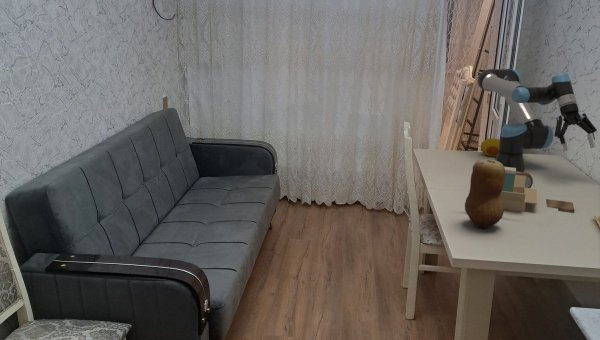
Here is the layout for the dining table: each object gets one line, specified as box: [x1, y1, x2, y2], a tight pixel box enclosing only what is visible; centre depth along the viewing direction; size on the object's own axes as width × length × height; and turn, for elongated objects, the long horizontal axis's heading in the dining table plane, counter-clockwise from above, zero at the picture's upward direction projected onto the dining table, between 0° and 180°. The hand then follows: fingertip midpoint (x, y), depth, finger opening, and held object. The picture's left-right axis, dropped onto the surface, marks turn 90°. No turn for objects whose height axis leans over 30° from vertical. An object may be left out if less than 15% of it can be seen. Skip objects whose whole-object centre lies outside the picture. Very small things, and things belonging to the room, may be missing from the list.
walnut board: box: [545, 198, 575, 214], centre depth 212 cm, size 10×10×1 cm
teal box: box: [502, 167, 516, 192], centre depth 214 cm, size 5×5×14 cm
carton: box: [500, 175, 538, 213], centre depth 215 cm, size 23×26×9 cm
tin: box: [515, 171, 534, 189], centre depth 233 cm, size 15×3×8 cm, turn 71°
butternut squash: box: [464, 158, 505, 229], centre depth 188 cm, size 14×13×25 cm
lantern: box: [466, 138, 500, 158], centre depth 291 cm, size 10×10×30 cm
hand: (580, 148), depth 237 cm, fingers open, 13 cm apart
